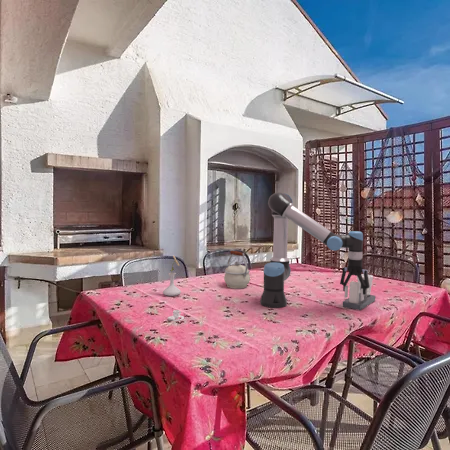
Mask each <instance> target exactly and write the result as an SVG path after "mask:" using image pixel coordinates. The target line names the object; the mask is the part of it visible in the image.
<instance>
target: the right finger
mask: <svg viewBox="0 0 450 450" xmlns="http://www.w3.org/2000/svg"><path fill="white" fill-rule="evenodd" d="M348 293H349V294H348V295H349V296H348V298H349V302H351V303H356V304H357V303H359V282H358V281H351V282H350V281H349V288H348Z"/></svg>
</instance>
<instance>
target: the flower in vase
mask: <svg viewBox="0 0 450 450" xmlns="http://www.w3.org/2000/svg"><path fill="white" fill-rule="evenodd" d="M172 256H173V259H174V261H173V264H172V266H171V269H170V270H169V271H170V272H169V273H167V275H168V276H169V285H168V286H167V287H165V289H164V290H162V294H164V295H165V296H172V297H174V296H178V295H180V294H181V293H182V291H181V289H180V288H178V287H177V286H176V285H175V276H176V274H177V273H176V272H173V271H175V268H174V264H175V263H176V265H177V266H178V267H180V263H179V260H177V258H176V256H175V255H174V254H173V255H172Z"/></svg>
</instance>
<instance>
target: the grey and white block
mask: <svg viewBox="0 0 450 450" xmlns="http://www.w3.org/2000/svg"><path fill="white" fill-rule="evenodd" d="M362 278H363V281H364V283H365V278H364V277H362ZM368 280H369V285H370V278H369V277H368ZM365 285H366V284H365ZM361 289H362V285H360V293H359V303H357V304H356V303H351V302H349V297H347V299H344V300H343V301H342V307H343V308H346V307H347V309H351V308H352V309H353V310H356V309H357V311H362V310H363V309H365V308H367V307H368V306H369V305H371V304H372V303H374V302H375V301H376V295H374V294H370V295H369V288H366V294H365V295H364V300H363V301H361ZM367 305H368V306H367Z"/></svg>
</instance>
